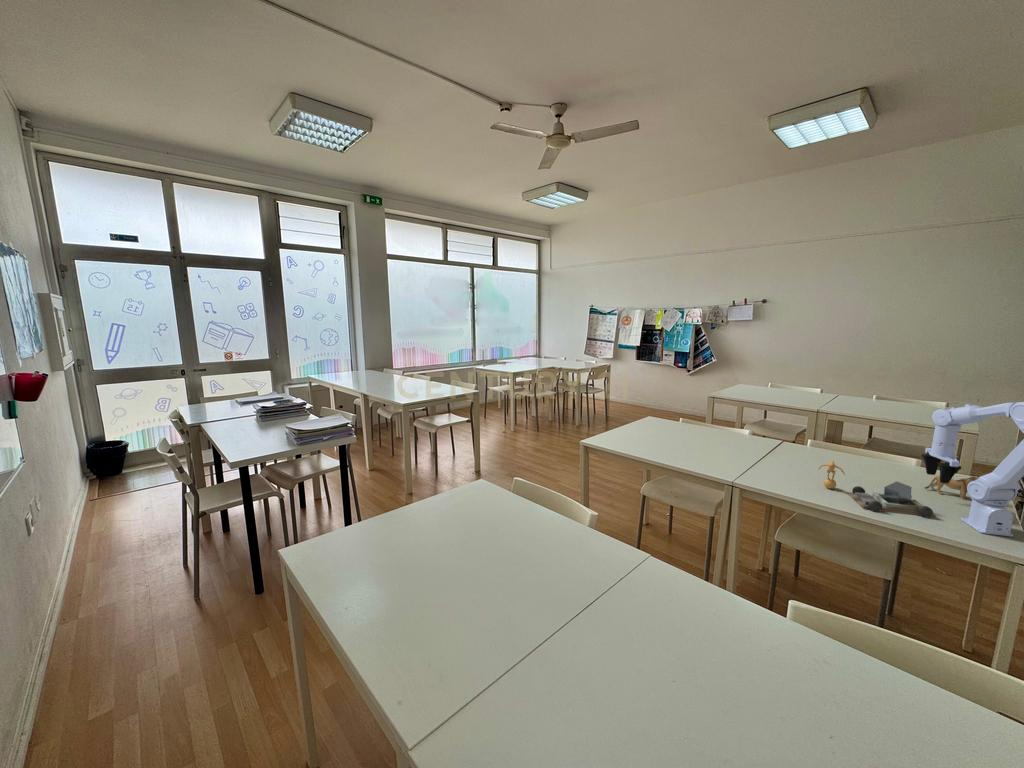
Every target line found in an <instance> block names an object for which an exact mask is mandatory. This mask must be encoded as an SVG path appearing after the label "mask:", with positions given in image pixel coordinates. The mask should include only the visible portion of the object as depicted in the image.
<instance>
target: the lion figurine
mask: <svg viewBox="0 0 1024 768" xmlns="http://www.w3.org/2000/svg"><path fill="white" fill-rule="evenodd" d="M979 477H980V476H970V477H966V478H961V479H953V478H952V479H951V480H950V482H949V483H941V482H940V475H937V476H935V477H934V478H932V480H931V481H930V483H929V485H926V486H925V487H924V489H925V490H926V489H929V488H930V490H932V491H935V490H936V491H937V493H938V494H939V495H944V492H942V491H941V489H942V488H943V487H944V485H945V486H946V487H948V488H949V489H950V490H951V489H952V490H954V491H955V490H956V491H959V494H958V495H959V497H960V498H961V500H963V501H967V498H966V496H967V494H968V491H967V486H968V484H969V483H970V482H972V481H975V480H977V479H978V478H979ZM935 487H936V488H935Z"/></svg>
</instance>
